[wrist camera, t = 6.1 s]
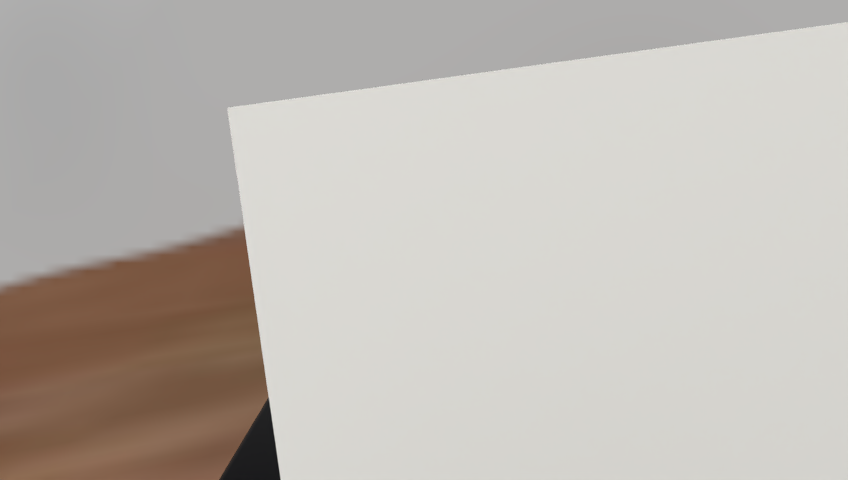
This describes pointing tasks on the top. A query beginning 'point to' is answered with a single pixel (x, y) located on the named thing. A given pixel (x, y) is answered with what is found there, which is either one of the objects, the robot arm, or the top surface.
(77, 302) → the top surface
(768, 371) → the white tall block
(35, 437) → the top surface
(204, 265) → the top surface
